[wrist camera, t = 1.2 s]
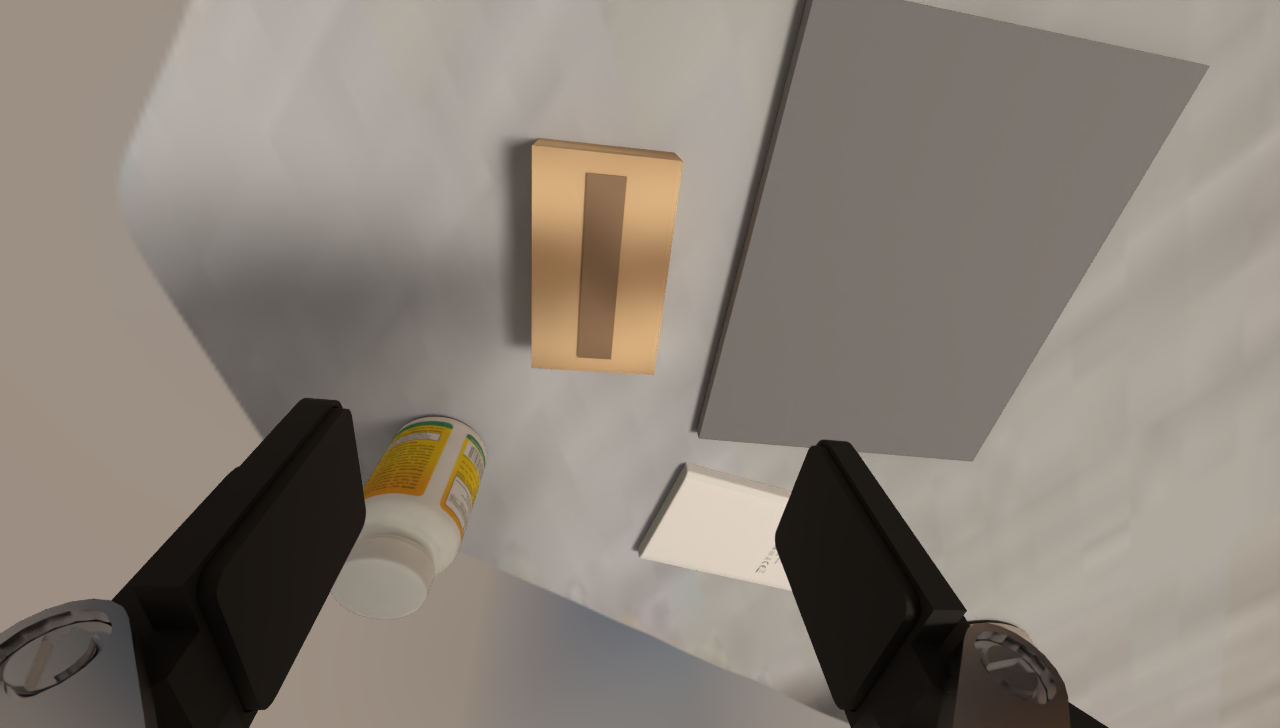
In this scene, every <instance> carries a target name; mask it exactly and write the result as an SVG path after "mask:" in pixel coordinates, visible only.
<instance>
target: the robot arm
mask: <svg viewBox="0 0 1280 728" xmlns="http://www.w3.org/2000/svg"><path fill="white" fill-rule="evenodd" d="M365 519H366V506H365V499H364V493H363V486H362V480H361V473H360V467H359V460H358V453H357V447H356V440H355V434H354V427H353V421H352V415H351V412H350V410H349V409H343V408H342V405H341V403H340V402H339V401H337V400H326V399H313V398H304V399H302V400H300V401H299V402H298V403H297V404H296V405H295V406H294V407H293V409H292V410H291V411H290V412H289V413H288V414H287V415H286V416H285V417H284V418H283V419H282V421H281V422H280V423H279V424H278V425H277V426H276V427H275V428H274V429H273V430H272V431H271V433H270V434H269V435H268V436H267V437H266V438H265V439H264V440H263V441H262V442H261V443H260V445H259V446H258V447H257V448H256V449H255V450H254V451H253V452H252V453H251V454H250V456H249V457H248V458H247V459H246V460H245V461H244V462H243V463H242V464H241V465H240V466H239V467H237V468H235V469H234V470H233V471H231V472H230V473H229V474H228V475H227V476H226V477H225V478H224V479H223V480H222V482H221V483H220V484H219V485H218V486H217V487H216V488H215V489H214V490H213V491H212V492H211V493H210V495H209V496H208V497H207V498H206V499H205V500H204V501H203V502H202V503H201V504H200V505H199V506H198V507H197V509H196V510H195V511H194V512H193V513H192V514H191V515H190V516H189V517H188V518H187V519H186V521H185V522H184V523H183V524H182V525H181V526H180V527H179V528H178V529H177V530H176V531H175V532H174V533H173V535H172V536H171V537H170V538H169V539H168V540H167V541H166V542H165V543H164V544H163V545H162V546H161V547H160V549H159V550H158V551H157V552H156V553H155V554H154V555H153V556H152V557H151V558H150V559H149V560H148V562H147V563H146V564H145V565H144V566H143V567H142V568H141V569H140V570H139V571H138V572H137V574H135V576H134V577H133V578H132V579H131V580H130V581H129V582H128V583H127V584H126V585H125V586H124V588H123V589H122V590H121V591H120V592H119V593H118V594H117V595H116V596H115V597H114V598H113V599H112V600H111V601H110V600H101V599H87V600H80V601H72V602H68V603H65V604H62V605H59V606H55V607H52V608H49V609H45V610H44V611H41V612H39V613H37V614H35V615H32V616H30V617H28V618H26V619H24V620H22V621H19V622H18V623H16V624H15V625H13V626H11V627H10V628H8V629H7V630H5V631H4V632H2V633H0V728H249V726H250V724H251V723H252V721H253V719H254V717H255V715H256V713H257V711H258V710H265V709H267V708H268V707H269V706H270V705H271V704H272V702H273V701H274V699H275V697H276V695H277V694H278V692H279V690H280V688H281V686H282V684H283V682H284V680H285V678H286V676H287V674H288V672H289V670H290V668H291V666H292V664H293V663H294V661H295V658H296V657H297V655H298V653H299V651H300V649H301V647H302V645H303V643H304V641H305V639H306V637H307V635H308V634H309V632H310V630H311V628H312V626H313V624H314V622H315V620H316V618H317V616H318V614H319V612H320V610H321V608H322V606H323V605H324V603H325V601H326V599H327V597H328V595H329V593H330V591H331V589H332V587H333V585H334V583H335V581H336V579H337V577H338V576H339V574H340V572H341V570H342V568H343V566H344V564H345V562H346V560H347V558H348V556H349V554H350V552H351V550H352V548H353V547H354V545H355V543H356V541H357V539H358V537H359V535H360V533H361V531H362V529H363V526H364V523H365ZM775 546H776V550H777V552H778V555H779V558H780V560H781V563H782V566H783V568H784V571H785V574H786V576H787V579H788V581H789V584H790V587H791V589H792V592H793V595H794V597H795V600H796V603H797V605H798V608H799V610H800V613H801V616H802V618H803V621H804V624H805V626H806V629H807V632H808V634H809V637H810V639H811V642H812V645H813V647H814V650H815V653H816V655H817V658H818V661H819V663H820V666H821V668H822V671H823V674H824V676H825V679H826V682H827V684H828V687H829V689H830V692H831V695H832V697H833V700H834V702H835V704H836V705H837V706H838V708H840V709H842V710H844V711H845V714H846V716H847V719H848V721H849V724H850V726H851V728H1108V727H1107V726H1105V725H1103V724H1102V723H1100V722H1099V721H1097V720H1096V719H1094V718H1093V717H1091V716H1089V715H1088V714H1086V713H1085V712H1083V711H1082V710H1080V709H1079V708H1077V707H1075V706H1074V705H1072V704H1071V703H1069V702H1068V694H1067V691H1066V687H1065V683H1064V682H1063V680H1062V678H1061V676H1060V675H1059V673H1058V671H1057V670H1056V668H1055V667H1054V666H1053V665H1052V664H1051V662H1050V661H1049V660H1048V659H1047V658H1046V656H1045V655H1044V654H1043V653H1041V652H1040V651H1039V650H1038V648H1037V647H1036V645H1035V644H1034V643H1033V641H1032V640H1031V639H1030V637H1029V636H1028V635H1027V634H1026V633H1025V632H1024V631H1023V630H1021V629H1019V628H1017V627H1014V626H1011V625H1007V624H1002V623H990V622H989V623H975V624H969V623H968V622H967V620H966V619H965V617H964V616H963V615H964V614H965V613H966V611H967V610H966V609H965V607H964V606H963V604H962V603H961V601H960V600H959V599H958V597H957V596H956V594H955V593H954V591H953V590H952V588H951V587H950V586H949V584H948V583H947V581H946V580H945V578H944V577H943V575H942V574H941V573H940V571H939V570H938V568H937V567H936V565H935V564H934V562H933V561H932V560H931V558H930V557H929V555H928V554H927V552H926V551H925V549H924V548H923V547H922V545H921V544H920V542H919V541H918V539H917V538H916V536H915V535H914V534H913V532H912V531H911V529H910V528H909V526H908V525H907V523H906V522H905V521H904V519H903V518H902V516H901V515H900V513H899V512H898V510H897V509H896V508H895V506H894V505H893V503H892V502H891V500H890V499H889V497H888V496H887V495H886V493H885V492H884V490H883V489H882V487H881V486H880V484H879V483H878V482H877V480H876V479H875V477H874V476H873V474H872V473H871V471H870V470H869V469H868V467H867V466H866V464H865V463H864V461H863V460H862V458H861V457H860V456H859V454H858V453H857V451H856V450H855V448H854V447H853V446H852V444H851V443H850V442H847V441H837V440H825V439H823V440H820V441H819V442H818V443H817V445H814V446H811V447H810V448H809V450H808V453H807V455H806V457H805V460H804V462H803V465H802V467H801V470H800V472H799V475H798V477H797V480H796V482H795V485H794V487H793V490H792V492H791V495H790V497H789V500H788V502H787V505H786V507H785V510H784V512H783V515H782V517H781V520H780V522H779V525H778V527H777V530H776V533H775Z"/></svg>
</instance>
